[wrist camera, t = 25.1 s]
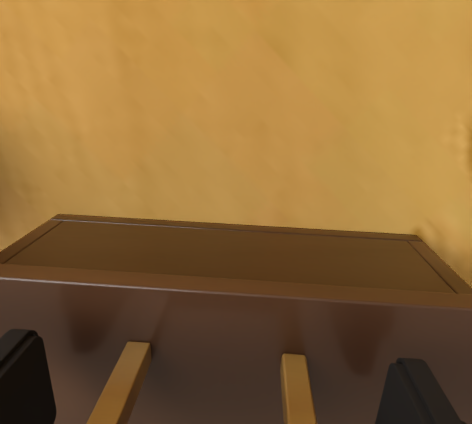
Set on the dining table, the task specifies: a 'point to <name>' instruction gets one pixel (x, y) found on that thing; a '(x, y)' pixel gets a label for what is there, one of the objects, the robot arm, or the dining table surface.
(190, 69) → the dining table surface
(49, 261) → the box
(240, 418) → the lid
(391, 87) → the dining table surface
